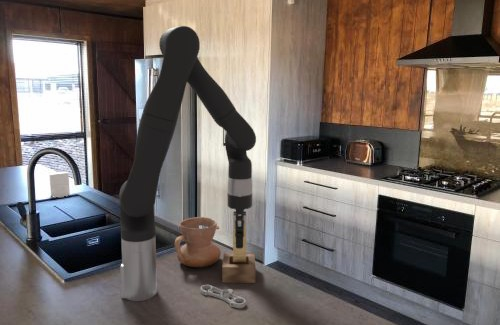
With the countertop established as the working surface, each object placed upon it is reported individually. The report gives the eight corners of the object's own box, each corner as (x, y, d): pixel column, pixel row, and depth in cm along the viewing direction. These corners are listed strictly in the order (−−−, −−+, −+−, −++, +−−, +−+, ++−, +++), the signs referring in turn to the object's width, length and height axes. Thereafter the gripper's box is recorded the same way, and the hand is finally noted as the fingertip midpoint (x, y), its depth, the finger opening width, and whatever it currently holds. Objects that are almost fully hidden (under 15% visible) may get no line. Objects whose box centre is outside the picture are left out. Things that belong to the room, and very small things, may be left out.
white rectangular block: (66, 192, 223) (65, 170, 221) (72, 195, 217) (70, 173, 214) (49, 194, 218) (47, 172, 215) (53, 198, 211) (52, 175, 209)
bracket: (227, 309, 107) (198, 285, 119) (227, 315, 107) (198, 291, 119) (250, 300, 112) (219, 278, 123) (249, 307, 112) (219, 284, 124)
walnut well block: (222, 282, 124) (222, 267, 123) (223, 268, 134) (223, 253, 133) (255, 282, 124) (255, 267, 123) (254, 268, 134) (254, 253, 133)
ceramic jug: (206, 249, 149) (205, 211, 146) (232, 261, 139) (231, 221, 136) (163, 264, 137) (161, 223, 134) (188, 278, 127) (186, 235, 124)
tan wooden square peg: (233, 261, 126) (233, 218, 124) (233, 256, 130) (233, 214, 128) (246, 261, 126) (246, 218, 124) (245, 256, 130) (246, 214, 128)
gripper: (228, 185, 131) (228, 236, 134) (226, 197, 117) (226, 254, 120) (251, 186, 131) (251, 236, 134) (252, 198, 117) (252, 254, 120)
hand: (239, 244), depth 127 cm, fingers closed on tan wooden square peg, 4 cm apart
